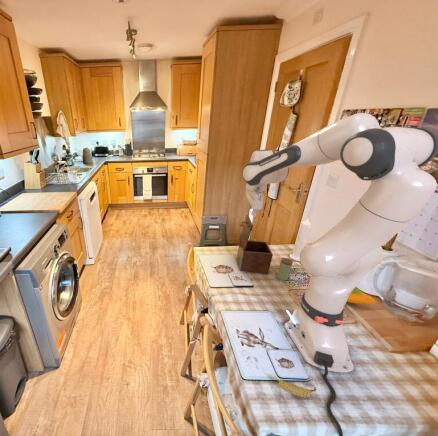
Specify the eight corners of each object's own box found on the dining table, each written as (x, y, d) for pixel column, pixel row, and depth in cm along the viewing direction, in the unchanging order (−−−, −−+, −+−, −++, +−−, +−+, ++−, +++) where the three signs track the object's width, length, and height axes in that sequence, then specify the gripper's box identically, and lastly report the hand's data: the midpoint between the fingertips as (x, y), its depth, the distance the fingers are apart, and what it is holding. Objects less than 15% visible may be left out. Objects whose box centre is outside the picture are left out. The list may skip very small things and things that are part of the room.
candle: (306, 261, 127) (319, 220, 117) (293, 261, 127) (305, 220, 117) (299, 254, 134) (310, 215, 123) (286, 254, 134) (297, 215, 124)
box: (262, 260, 129) (266, 241, 124) (268, 273, 118) (272, 254, 113) (237, 257, 132) (239, 239, 127) (240, 270, 121) (243, 251, 116)
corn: (319, 275, 104) (376, 287, 96) (314, 288, 107) (369, 300, 100) (322, 287, 98) (384, 300, 90) (317, 299, 101) (376, 313, 94)
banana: (276, 393, 68) (279, 384, 66) (274, 384, 70) (276, 376, 68) (314, 401, 65) (318, 393, 64) (311, 392, 68) (315, 384, 66)
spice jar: (289, 281, 113) (294, 264, 108) (278, 279, 114) (282, 263, 109) (286, 274, 117) (290, 258, 113) (275, 273, 118) (279, 257, 114)
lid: (248, 215, 121) (238, 213, 121) (253, 225, 109) (242, 223, 110) (240, 239, 127) (231, 237, 128) (244, 251, 116) (234, 249, 116)
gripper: (269, 191, 98) (263, 221, 103) (258, 179, 116) (254, 205, 122) (253, 191, 99) (248, 220, 105) (245, 179, 117) (241, 204, 123)
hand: (251, 212), depth 113 cm, fingers open, 8 cm apart
